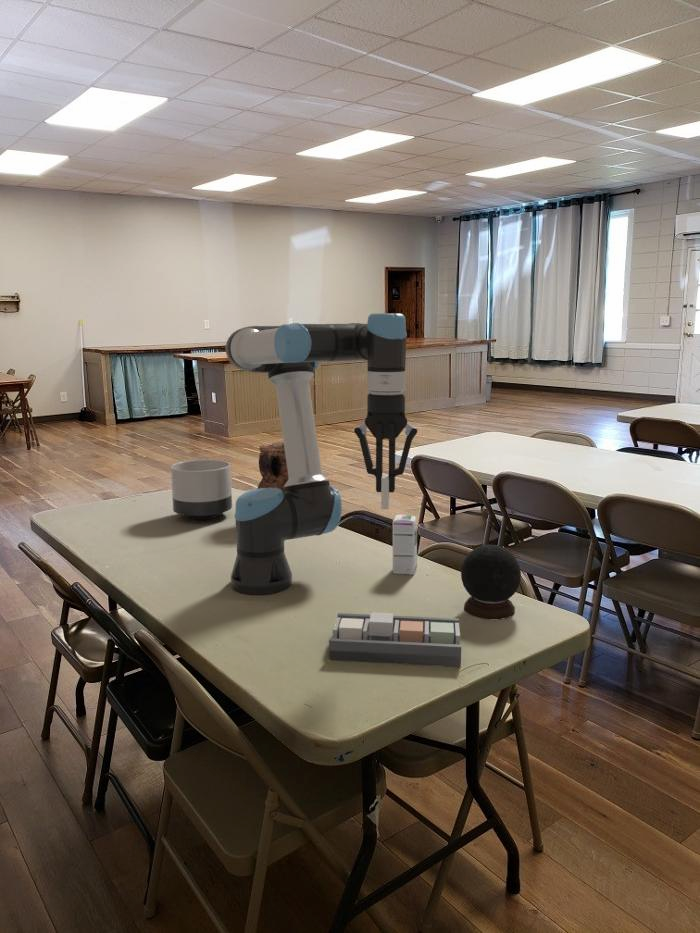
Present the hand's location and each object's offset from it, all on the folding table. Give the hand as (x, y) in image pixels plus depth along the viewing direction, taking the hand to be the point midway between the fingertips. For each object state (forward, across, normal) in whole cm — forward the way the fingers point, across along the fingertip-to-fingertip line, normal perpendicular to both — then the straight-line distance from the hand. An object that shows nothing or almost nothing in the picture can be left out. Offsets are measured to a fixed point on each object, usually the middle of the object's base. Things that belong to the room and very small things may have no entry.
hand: (385, 507), depth 144 cm
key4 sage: (+24, +12, -9) cm, 28 cm away
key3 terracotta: (+24, +6, -9) cm, 26 cm away
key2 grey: (+23, 0, -9) cm, 24 cm away
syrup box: (+27, +3, +35) cm, 44 cm away
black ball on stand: (+27, +23, +12) cm, 37 cm away
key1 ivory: (+24, -6, -9) cm, 26 cm away
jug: (+27, -37, +81) cm, 93 cm away
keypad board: (+26, +3, -10) cm, 28 cm away
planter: (+27, -66, +80) cm, 107 cm away
